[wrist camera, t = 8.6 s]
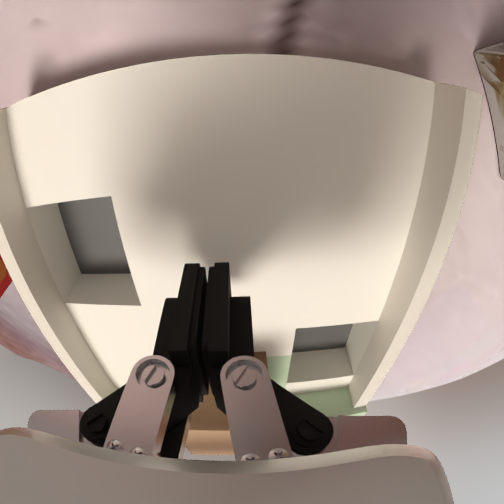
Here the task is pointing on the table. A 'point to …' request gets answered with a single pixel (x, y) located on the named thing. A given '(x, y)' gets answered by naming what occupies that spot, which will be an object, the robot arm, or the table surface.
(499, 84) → the coffee box
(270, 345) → the tray
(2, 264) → the baking soda box
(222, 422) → the block
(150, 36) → the table surface
